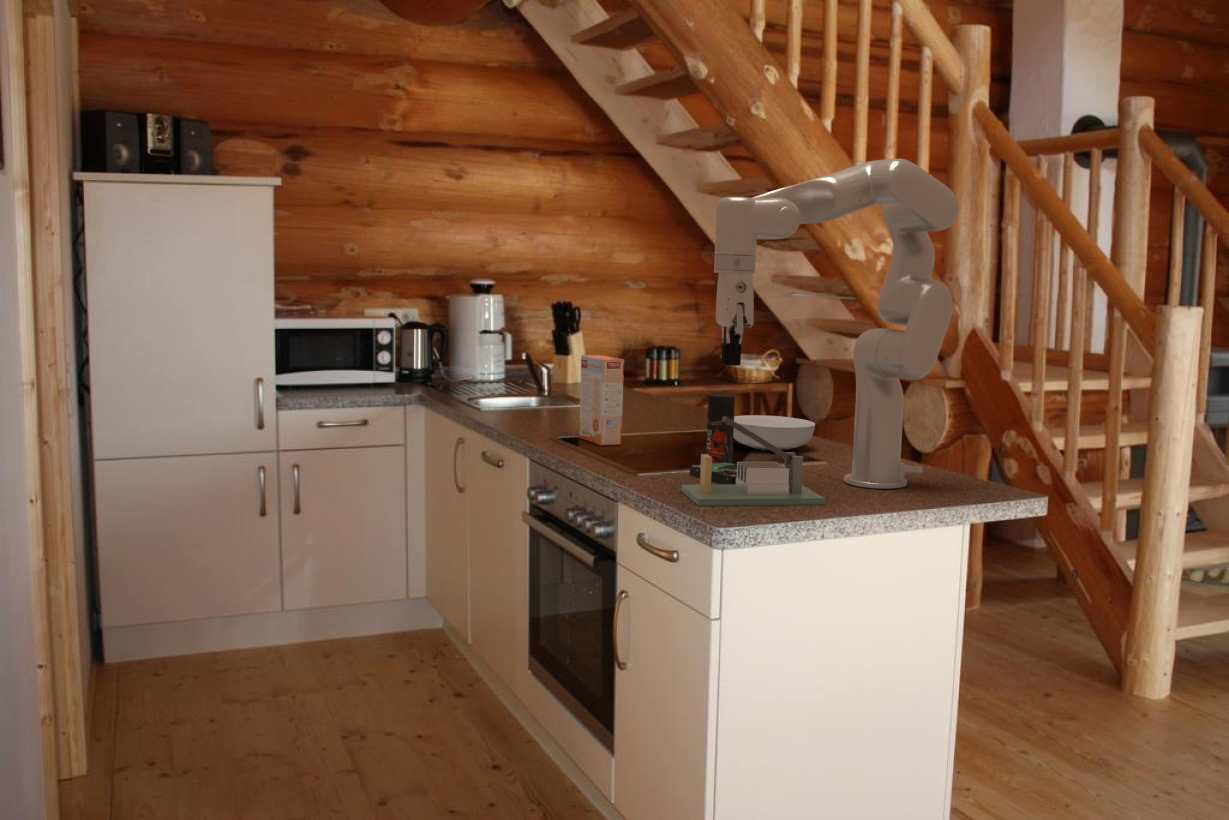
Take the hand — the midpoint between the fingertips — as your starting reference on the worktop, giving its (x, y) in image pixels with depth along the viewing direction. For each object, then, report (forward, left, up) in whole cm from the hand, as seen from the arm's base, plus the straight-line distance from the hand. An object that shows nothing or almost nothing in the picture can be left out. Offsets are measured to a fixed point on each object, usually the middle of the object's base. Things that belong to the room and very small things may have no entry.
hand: (730, 364), depth 217 cm
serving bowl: (-27, -59, -25) cm, 70 cm away
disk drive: (-6, -19, -26) cm, 33 cm away
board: (-5, 0, -25) cm, 26 cm away
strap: (-6, 0, -15) cm, 16 cm away
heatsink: (-7, 0, -24) cm, 25 cm away
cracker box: (+13, -69, -25) cm, 75 cm away
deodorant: (-9, -39, -25) cm, 47 cm away
